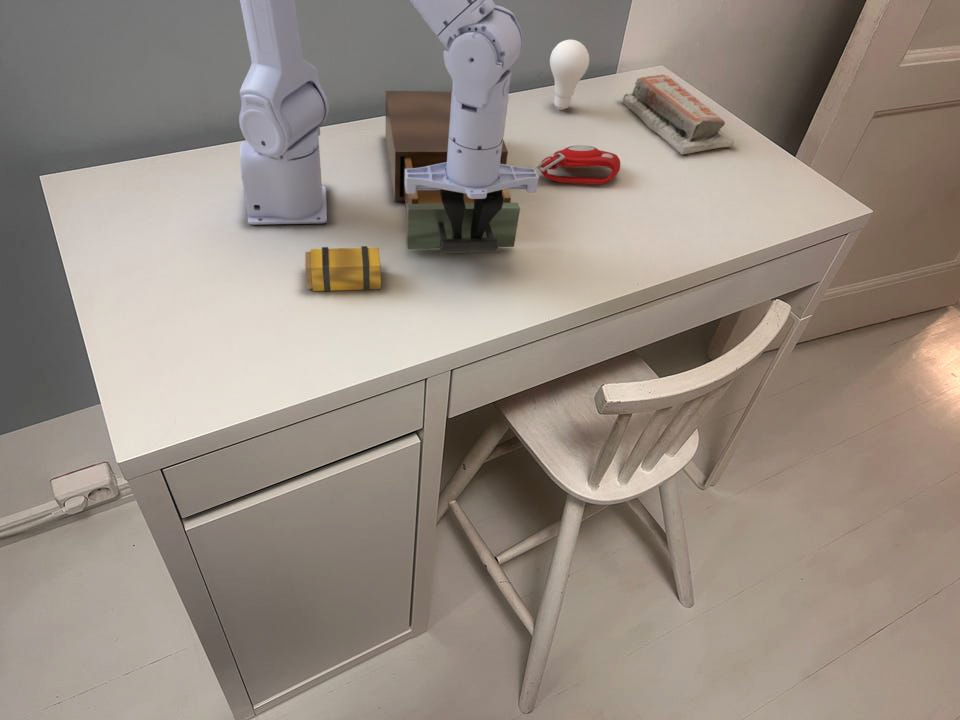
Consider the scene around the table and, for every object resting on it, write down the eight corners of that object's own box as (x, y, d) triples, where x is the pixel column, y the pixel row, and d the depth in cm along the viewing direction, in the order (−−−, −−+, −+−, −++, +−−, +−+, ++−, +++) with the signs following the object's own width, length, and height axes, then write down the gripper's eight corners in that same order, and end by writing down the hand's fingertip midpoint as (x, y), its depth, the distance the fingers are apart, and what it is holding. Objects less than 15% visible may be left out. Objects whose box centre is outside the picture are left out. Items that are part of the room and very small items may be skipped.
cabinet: (501, 200, 98) (508, 151, 93) (394, 202, 95) (395, 151, 90) (481, 139, 109) (486, 92, 104) (385, 138, 107) (385, 90, 101)
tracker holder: (563, 139, 109) (628, 144, 105) (562, 169, 111) (626, 175, 107) (531, 154, 100) (600, 160, 95) (530, 186, 102) (598, 194, 98)
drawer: (522, 272, 86) (529, 233, 82) (411, 276, 84) (412, 235, 80) (492, 179, 100) (497, 141, 96) (396, 179, 98) (397, 141, 94)
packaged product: (626, 74, 119) (675, 69, 122) (619, 102, 122) (667, 96, 126) (690, 127, 108) (743, 119, 111) (681, 157, 111) (732, 148, 115)
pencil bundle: (378, 270, 85) (378, 245, 83) (380, 289, 83) (380, 265, 80) (307, 272, 84) (305, 247, 81) (307, 292, 82) (304, 267, 79)
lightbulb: (539, 99, 120) (550, 32, 112) (575, 101, 121) (588, 34, 113) (545, 117, 116) (557, 48, 108) (582, 118, 117) (596, 50, 109)
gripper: (410, 156, 72) (407, 264, 81) (551, 156, 74) (532, 261, 84) (403, 120, 76) (401, 227, 86) (537, 122, 79) (520, 225, 89)
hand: (465, 241), depth 85 cm, fingers closed
